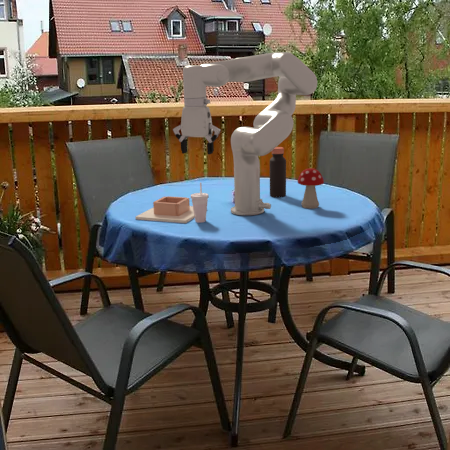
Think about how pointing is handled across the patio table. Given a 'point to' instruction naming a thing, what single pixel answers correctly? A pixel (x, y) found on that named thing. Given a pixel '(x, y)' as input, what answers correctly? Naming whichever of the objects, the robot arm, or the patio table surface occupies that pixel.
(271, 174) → the vinegar
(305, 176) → the decorative mushroom
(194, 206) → the smoothie
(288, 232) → the patio table surface
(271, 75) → the robot arm
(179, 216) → the open brown bin
